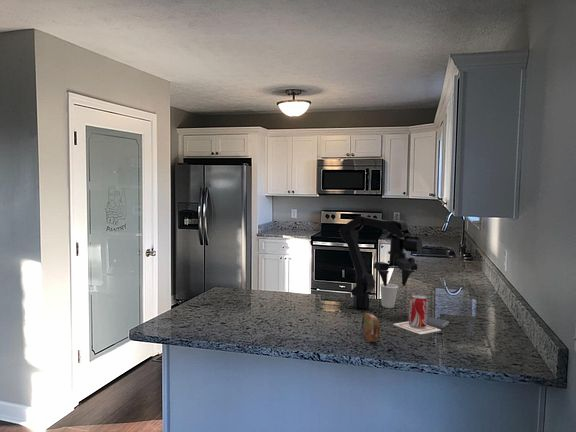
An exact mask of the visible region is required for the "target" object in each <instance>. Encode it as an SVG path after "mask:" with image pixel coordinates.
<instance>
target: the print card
mask: <svg viewBox="0 0 576 432" xmlns="http://www.w3.org/2000/svg"><path fill="white" fill-rule="evenodd" d="M392 325H393V326H395V327H398V328H401V329H404V330H407V331H410V332H413V333H415V334H418V335H427V334H431V333H436V332H437V333H438V332H441V331H442V329H441V328H440V329H439V328H438V327H434V326H430V325H426V326H425V327H424V328H415V327H412V326H411V325H410V324H409V320H407V321H403V322H396V323H392Z"/></svg>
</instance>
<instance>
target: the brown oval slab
mask: <svg viewBox="0 0 576 432" xmlns="http://www.w3.org/2000/svg"><path fill="white" fill-rule="evenodd" d="M380 322H381V321H379V319H378V317H376V316H375V315H374V314H373V313H371V312H370V313H368V312H364V314H363V315H362V320H361V333H362V335H363V337H364V338H365V339H366V340H367V342H369V343H377V342H378V341H379V338H380V329H381V323H380Z"/></svg>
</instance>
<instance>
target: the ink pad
mask: <svg viewBox="0 0 576 432" xmlns="http://www.w3.org/2000/svg"><path fill="white" fill-rule="evenodd" d="M449 324H450V321H448V320H444V319H439V318H434V317H430V316H427V324H426V325H428V326H431V327H434V328H438V329H439V328H440V329H444V328H446V327H447V326H448V325H449Z"/></svg>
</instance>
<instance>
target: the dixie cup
mask: <svg viewBox="0 0 576 432" xmlns="http://www.w3.org/2000/svg"><path fill="white" fill-rule="evenodd" d="M379 286H380V297H381V299H380V300H381V307H382V306H383V308H386V309H393V308H395V303H396V299H397V294H398V293H397V292H398V288H399V286H398V285H397V284H393V283H387V285H386V286H384V284H383V283H380V285H379Z"/></svg>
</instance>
